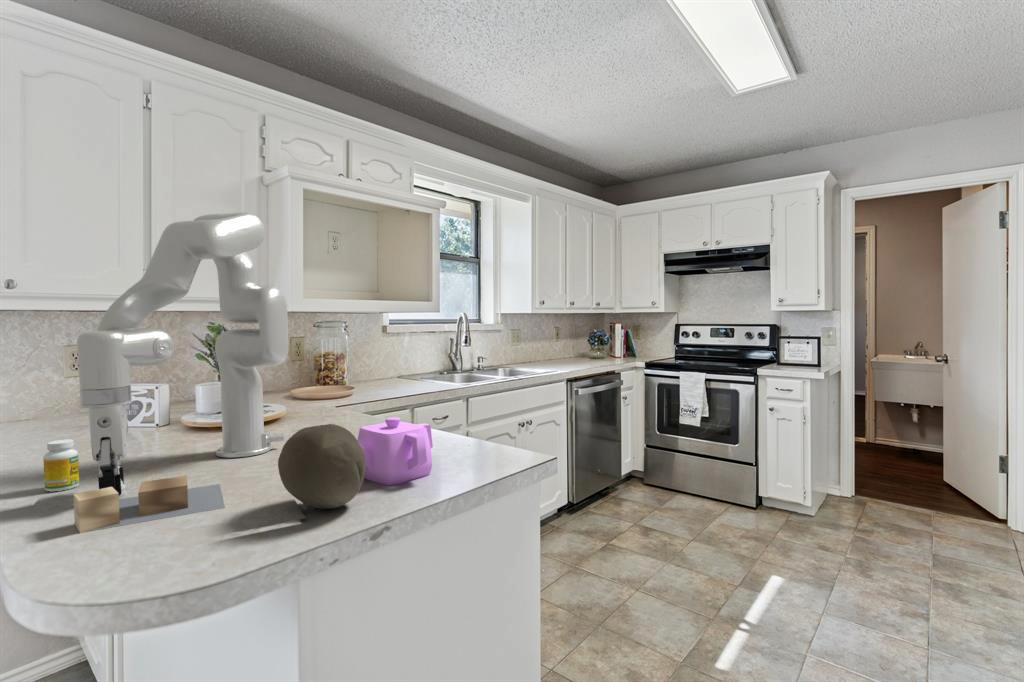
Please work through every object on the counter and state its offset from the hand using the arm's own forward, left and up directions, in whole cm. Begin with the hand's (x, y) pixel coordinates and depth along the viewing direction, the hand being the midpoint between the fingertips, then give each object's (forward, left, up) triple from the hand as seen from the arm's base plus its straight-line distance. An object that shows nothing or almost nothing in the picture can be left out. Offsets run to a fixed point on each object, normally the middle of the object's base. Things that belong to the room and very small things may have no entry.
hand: (112, 491), depth 99 cm
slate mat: (-8, +11, -2) cm, 14 cm away
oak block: (0, +16, -1) cm, 17 cm away
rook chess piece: (0, 0, -1) cm, 1 cm away
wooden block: (-9, +12, -1) cm, 15 cm away
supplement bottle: (+9, -15, -2) cm, 17 cm away
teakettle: (-50, +13, -2) cm, 51 cm away
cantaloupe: (-33, +27, -2) cm, 43 cm away
